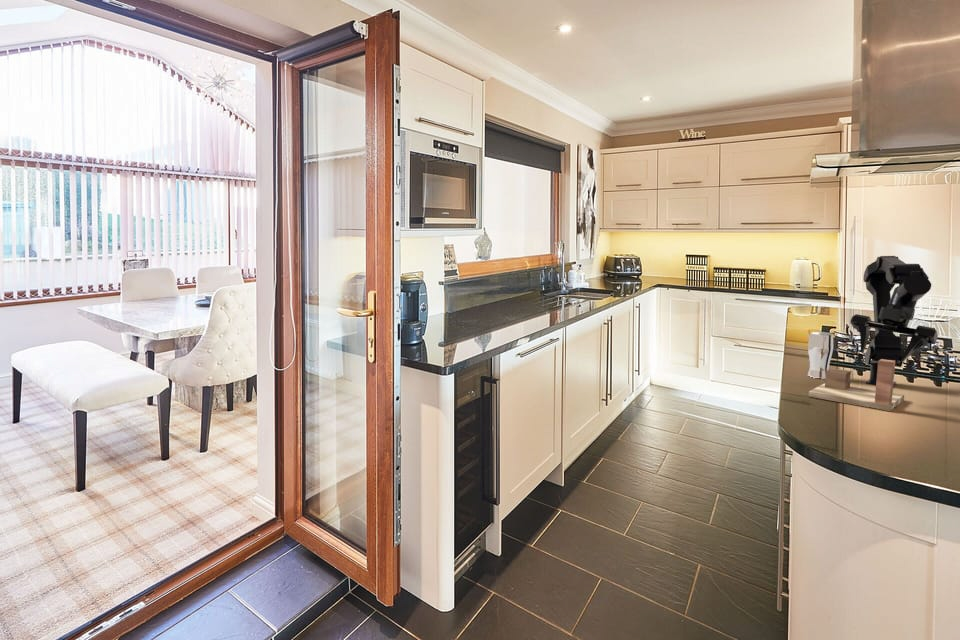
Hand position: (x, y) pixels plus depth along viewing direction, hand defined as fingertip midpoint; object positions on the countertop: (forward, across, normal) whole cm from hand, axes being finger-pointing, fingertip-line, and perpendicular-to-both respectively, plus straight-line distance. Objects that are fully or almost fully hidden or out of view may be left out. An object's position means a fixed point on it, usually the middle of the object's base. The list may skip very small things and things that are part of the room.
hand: (881, 356), depth 139 cm
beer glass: (+5, -19, +24) cm, 31 cm away
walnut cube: (+10, -9, +8) cm, 16 cm away
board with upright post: (+12, -3, +6) cm, 14 cm away
